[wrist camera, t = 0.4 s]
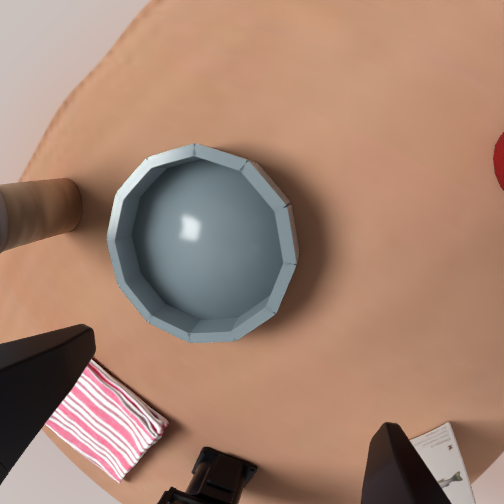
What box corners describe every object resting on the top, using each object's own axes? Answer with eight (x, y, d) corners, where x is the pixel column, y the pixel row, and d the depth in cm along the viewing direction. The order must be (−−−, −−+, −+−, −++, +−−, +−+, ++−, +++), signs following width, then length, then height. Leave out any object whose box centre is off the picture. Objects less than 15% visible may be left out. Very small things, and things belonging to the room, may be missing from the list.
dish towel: (178, 416, 29) (165, 437, 26) (125, 478, 36) (115, 492, 33) (60, 321, 30) (40, 333, 27) (43, 412, 37) (31, 423, 34)
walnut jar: (78, 241, 26) (-5, 269, 17) (44, 222, 27) (-33, 243, 17) (87, 185, 25) (-2, 196, 15) (52, 171, 25) (-30, 179, 16)
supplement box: (449, 418, 22) (482, 516, 10) (457, 454, 23) (480, 538, 11) (383, 447, 25) (392, 550, 13) (398, 478, 25) (406, 565, 13)
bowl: (259, 349, 24) (251, 369, 22) (117, 284, 26) (98, 295, 23) (325, 187, 21) (326, 188, 18) (154, 131, 22) (133, 126, 19)
